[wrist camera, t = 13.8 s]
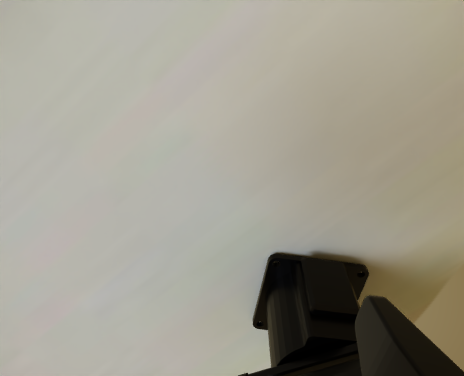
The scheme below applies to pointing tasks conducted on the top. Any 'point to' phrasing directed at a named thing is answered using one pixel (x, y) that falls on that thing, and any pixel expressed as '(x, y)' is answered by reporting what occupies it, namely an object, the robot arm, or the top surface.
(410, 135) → the top surface
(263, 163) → the top surface
